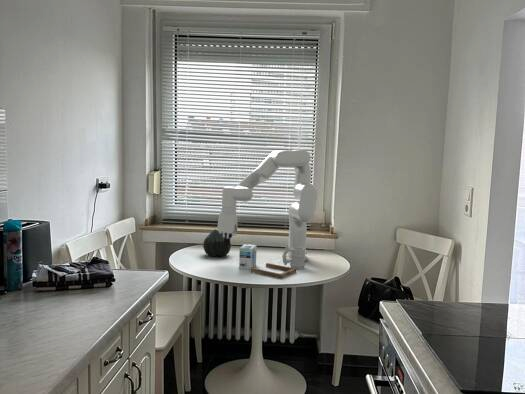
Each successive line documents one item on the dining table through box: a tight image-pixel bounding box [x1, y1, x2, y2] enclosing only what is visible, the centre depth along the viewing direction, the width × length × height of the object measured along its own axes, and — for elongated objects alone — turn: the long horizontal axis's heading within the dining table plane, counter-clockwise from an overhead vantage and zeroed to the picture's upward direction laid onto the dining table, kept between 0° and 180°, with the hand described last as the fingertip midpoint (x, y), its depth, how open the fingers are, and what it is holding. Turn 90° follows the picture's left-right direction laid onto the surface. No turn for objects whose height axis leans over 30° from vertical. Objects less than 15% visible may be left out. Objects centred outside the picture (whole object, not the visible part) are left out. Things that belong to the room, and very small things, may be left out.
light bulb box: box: [238, 243, 258, 271], centre depth 227 cm, size 11×7×11 cm, turn 168°
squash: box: [202, 228, 232, 258], centre depth 250 cm, size 14×15×15 cm
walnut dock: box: [250, 262, 298, 280], centre depth 219 cm, size 14×17×2 cm
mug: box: [281, 243, 306, 270], centre depth 229 cm, size 8×12×12 cm, turn 94°
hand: (226, 245), depth 234 cm, fingers closed
